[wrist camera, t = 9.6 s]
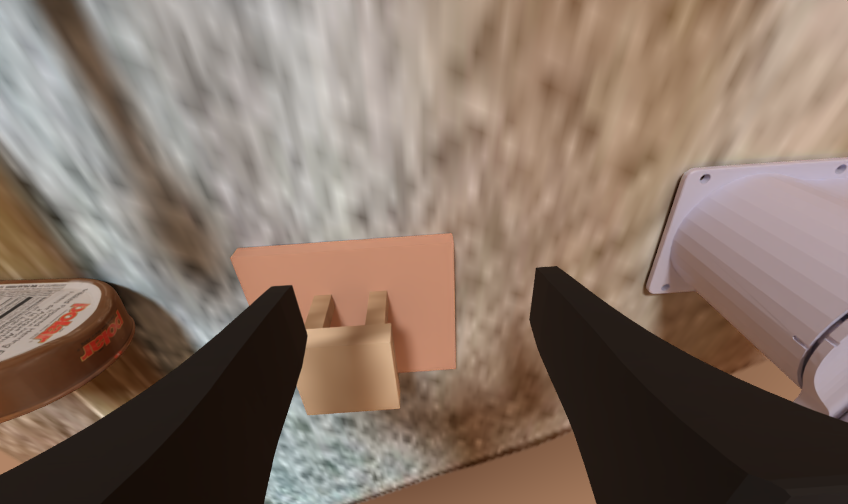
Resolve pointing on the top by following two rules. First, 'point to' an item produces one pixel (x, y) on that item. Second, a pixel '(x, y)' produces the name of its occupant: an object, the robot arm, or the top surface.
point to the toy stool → (349, 361)
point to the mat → (369, 287)
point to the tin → (56, 339)
